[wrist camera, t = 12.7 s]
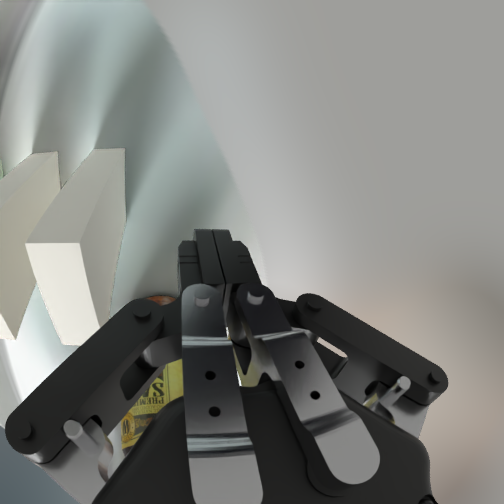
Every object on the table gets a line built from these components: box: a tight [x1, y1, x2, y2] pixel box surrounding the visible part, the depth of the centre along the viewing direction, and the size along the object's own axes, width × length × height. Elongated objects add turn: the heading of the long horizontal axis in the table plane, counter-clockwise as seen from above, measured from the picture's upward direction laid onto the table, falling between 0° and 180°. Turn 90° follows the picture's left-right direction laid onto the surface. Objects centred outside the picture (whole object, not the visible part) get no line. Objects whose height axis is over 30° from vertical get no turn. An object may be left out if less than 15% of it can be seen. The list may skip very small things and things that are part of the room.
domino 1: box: [0, 151, 61, 340], centre depth 11 cm, size 5×2×10 cm, turn 170°
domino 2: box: [25, 148, 126, 346], centre depth 12 cm, size 5×2×10 cm, turn 170°
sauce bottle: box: [121, 296, 183, 456], centre depth 16 cm, size 7×6×20 cm
